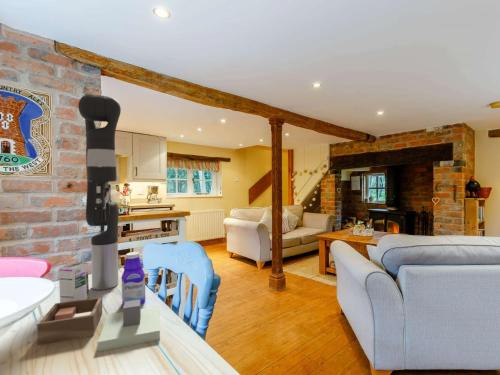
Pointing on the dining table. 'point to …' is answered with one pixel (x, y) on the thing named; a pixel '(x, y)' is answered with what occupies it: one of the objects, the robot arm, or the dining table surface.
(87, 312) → the cream cube
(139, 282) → the bottle
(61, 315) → the terracotta cube
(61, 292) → the syrup box
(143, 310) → the lid
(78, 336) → the box
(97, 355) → the dining table surface
